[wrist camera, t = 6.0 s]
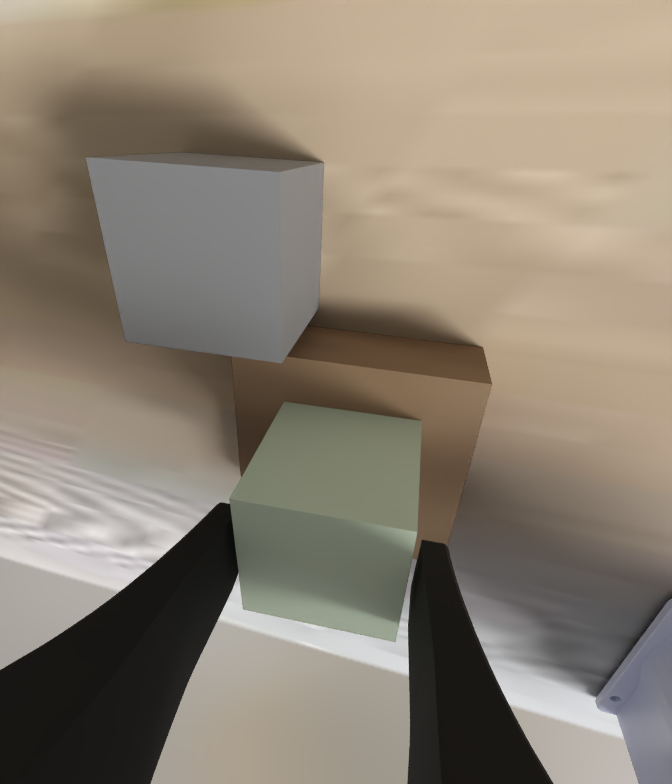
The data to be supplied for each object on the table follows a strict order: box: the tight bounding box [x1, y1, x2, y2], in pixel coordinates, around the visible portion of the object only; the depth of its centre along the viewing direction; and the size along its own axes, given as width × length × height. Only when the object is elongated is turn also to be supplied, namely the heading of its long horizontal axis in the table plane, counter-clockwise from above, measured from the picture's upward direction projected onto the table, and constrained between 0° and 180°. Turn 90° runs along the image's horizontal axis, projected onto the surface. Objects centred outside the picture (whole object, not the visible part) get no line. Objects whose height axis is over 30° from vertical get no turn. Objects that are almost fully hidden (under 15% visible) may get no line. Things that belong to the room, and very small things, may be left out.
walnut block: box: [231, 326, 492, 559], centre depth 16 cm, size 8×8×3 cm
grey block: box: [86, 152, 324, 363], centre depth 12 cm, size 4×4×4 cm
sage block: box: [230, 402, 422, 642], centre depth 13 cm, size 4×4×4 cm
